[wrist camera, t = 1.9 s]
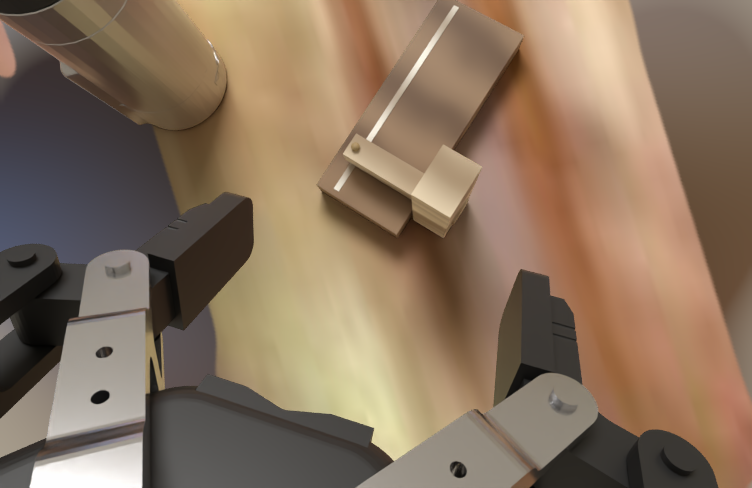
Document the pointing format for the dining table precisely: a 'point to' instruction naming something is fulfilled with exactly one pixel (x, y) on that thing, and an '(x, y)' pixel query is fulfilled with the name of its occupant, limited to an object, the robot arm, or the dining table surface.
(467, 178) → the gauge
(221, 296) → the dining table surface
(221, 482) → the robot arm
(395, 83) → the board
